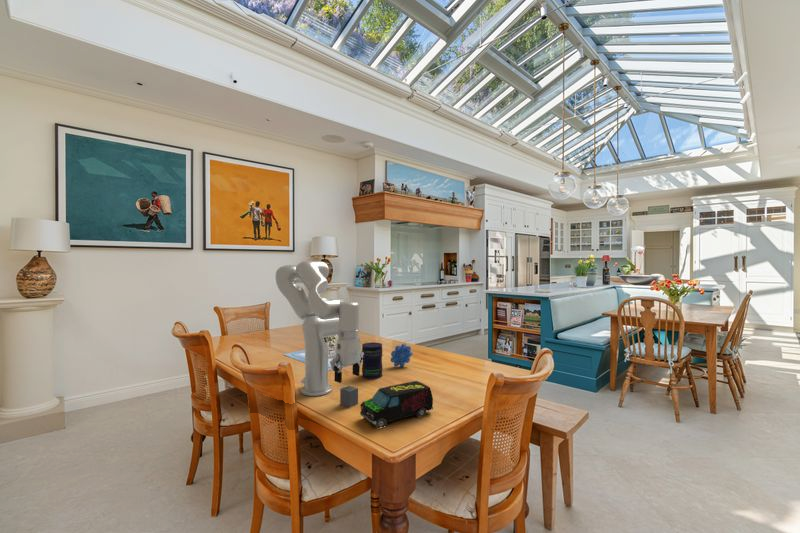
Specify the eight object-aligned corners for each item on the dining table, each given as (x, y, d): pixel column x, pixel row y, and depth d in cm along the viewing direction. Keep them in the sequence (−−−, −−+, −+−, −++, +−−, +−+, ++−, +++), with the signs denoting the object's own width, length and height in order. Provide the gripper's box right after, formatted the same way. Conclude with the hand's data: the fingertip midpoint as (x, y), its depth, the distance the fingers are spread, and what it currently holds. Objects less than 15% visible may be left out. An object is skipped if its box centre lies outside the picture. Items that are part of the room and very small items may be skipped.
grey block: (340, 404, 135) (340, 389, 135) (348, 401, 139) (348, 385, 139) (349, 407, 132) (349, 391, 132) (358, 403, 136) (358, 388, 136)
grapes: (410, 363, 190) (410, 341, 190) (413, 367, 183) (413, 344, 183) (389, 365, 188) (389, 342, 188) (391, 368, 181) (391, 345, 181)
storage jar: (380, 379, 164) (380, 347, 164) (359, 378, 166) (359, 346, 166) (384, 373, 174) (384, 342, 174) (364, 372, 175) (364, 342, 175)
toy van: (358, 419, 123) (358, 390, 123) (417, 404, 136) (417, 378, 136) (372, 431, 114) (372, 400, 114) (434, 414, 127) (434, 386, 127)
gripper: (338, 339, 126) (337, 387, 127) (370, 332, 140) (369, 374, 141) (324, 336, 131) (323, 382, 131) (356, 329, 145) (355, 370, 145)
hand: (347, 378), depth 136 cm, fingers open, 9 cm apart
